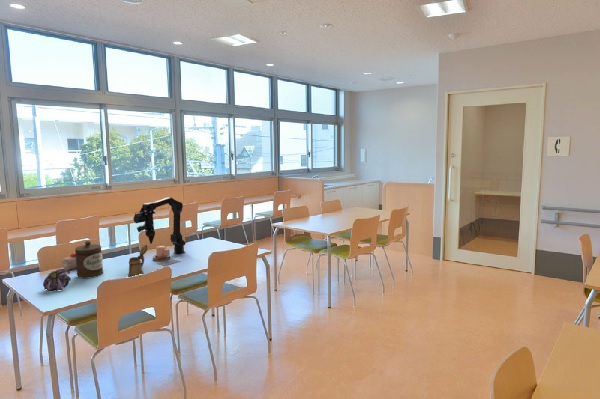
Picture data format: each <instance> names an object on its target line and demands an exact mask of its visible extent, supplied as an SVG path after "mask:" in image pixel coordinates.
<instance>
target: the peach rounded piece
mask: <svg viewBox="0 0 600 399" xmlns="http://www.w3.org/2000/svg"><path fill="white" fill-rule="evenodd" d="M155 253H156V256H157V258H164V257H166V255H167V256H168V255H170V249H168V248H167V246H166V245H158V246H155ZM170 256H171V255H170Z"/></svg>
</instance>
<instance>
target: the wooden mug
mask: <svg viewBox="0 0 600 399" xmlns="http://www.w3.org/2000/svg"><path fill="white" fill-rule="evenodd" d="M147 250H148V245H147V244H146V245H144V246H142V247H141V249H140V250H139V255H138V256H137V257H135V256H134V257H130V258H129V260H128V264H129V265H128V266H129V267H128V273H127V276H128V277H129V278H131V277H130V276H135V275H139V274H143V275H144V271H143V266H144V263H145V257H144V255H145V254H146V253H147Z"/></svg>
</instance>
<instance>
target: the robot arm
mask: <svg viewBox="0 0 600 399" xmlns="http://www.w3.org/2000/svg"><path fill="white" fill-rule="evenodd" d="M165 205H169V206H170V207H171V211H172V213H173V221H172V222H173V227H172V228H173V229H172V231H173V232H172V233H171V234H170V236H169V237H170V238H169V240H170V242H171V243H172V245H174V247H173V250H174V252H173V254H176V255H179V254H180V255H181V254H184V253H186V251H185V247H184V246H185V245H186V241H185V240H184V239H183V235H182V233H181V213H182V211H183V208H184V207H183V206H184V204H183V202H181V201H178V200H176V199H174V198H173V197H171V196H170V197H169V196H167V197H165V198H161V199H158V200H156V201H153V202H151V201H150V202H144V203H142V205H141V207H140V208H141V209H140V210H139V212H138V213H137V212H136V213H134V215H133V219H132V220H133V222H134V224H139V223H143V224H141V225H139V226H137V227H136V230H137V232H138V233H141V232H142V231H145V236H146V237H147V238H148V240H149V244H153V242H154V238H155V236H156V231H155V222H154V214H156V212H155V210H156V209H157V208H159V207H162V206H165Z"/></svg>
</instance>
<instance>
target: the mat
mask: <svg viewBox="0 0 600 399" xmlns="http://www.w3.org/2000/svg"><path fill="white" fill-rule="evenodd" d="M177 262H178V263H181V262H182V260H178V259H169V260H164V261H160V262H158V263H157V265H160V266H164V267H166V266H171V265H173V264H177Z"/></svg>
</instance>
